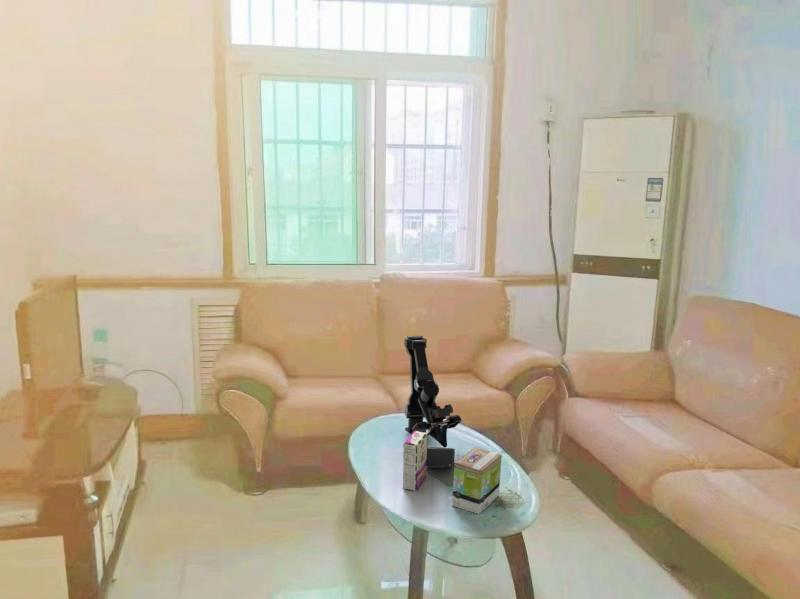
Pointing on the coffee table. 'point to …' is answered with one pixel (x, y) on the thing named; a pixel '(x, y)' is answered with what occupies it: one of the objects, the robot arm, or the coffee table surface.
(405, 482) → the candy bar box
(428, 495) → the coffee table surface
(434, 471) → the slate mat
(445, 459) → the small box
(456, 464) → the tea box
